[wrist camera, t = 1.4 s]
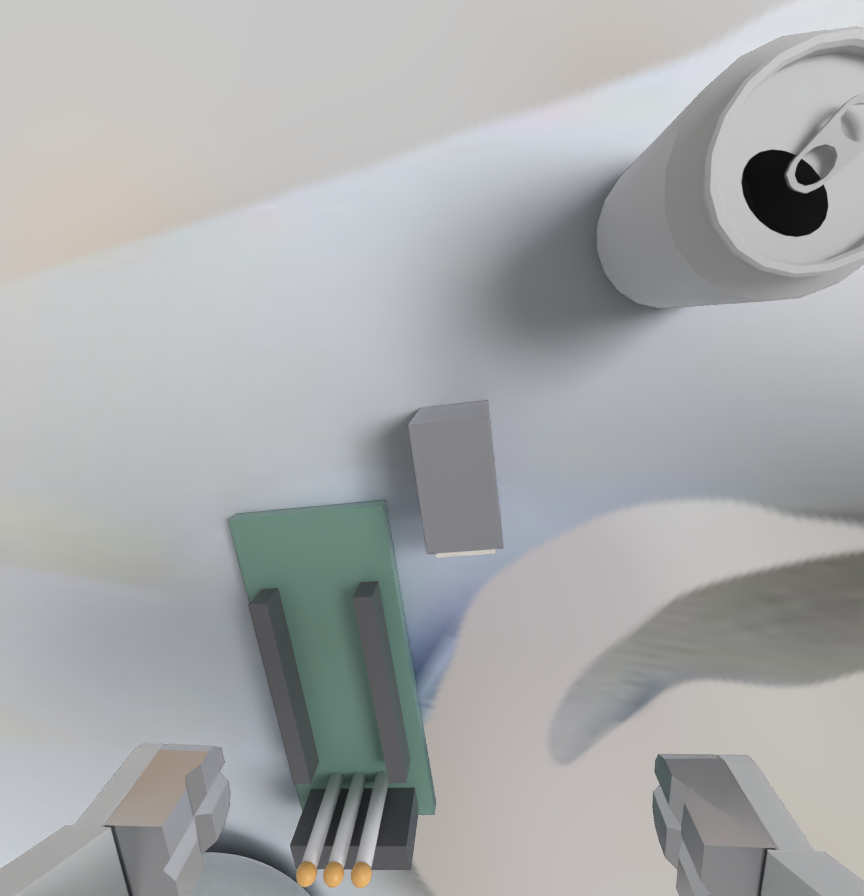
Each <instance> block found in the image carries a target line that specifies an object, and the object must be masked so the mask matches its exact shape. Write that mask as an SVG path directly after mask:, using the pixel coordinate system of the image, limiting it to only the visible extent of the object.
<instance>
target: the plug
mask: <svg viewBox="0 0 864 896" xmlns="http://www.w3.org/2000/svg"><path fill="white" fill-rule="evenodd" d="M408 429H409V436H410V443H411V450H412V456H413V463H414V470H415V477H416V483H417V490H418V497H419V504H420V510H421V517H422V524H423V530H424V537H425V544H426V551H427V554H436V558H442V557H455V556H468V555H482V554H495V553H496V549H503V539H502V528H501V517H500V507H499V498H498V488H497V479H496V469H495V460H494V450H493V441H492V432H491V422H490V413H489V403H488V400H483V401H475V402H466V403H458V404H449V405H441V406H432V407H423V408H420V409H419V410H418V412H417V413H416V414H415V416H414V417H413V419H412V420H411V421H410V423H409V424H408Z"/></svg>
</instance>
